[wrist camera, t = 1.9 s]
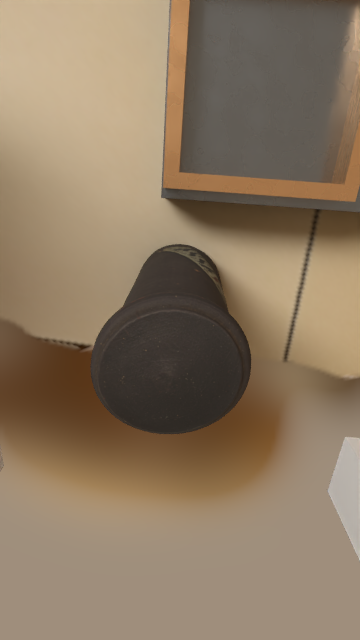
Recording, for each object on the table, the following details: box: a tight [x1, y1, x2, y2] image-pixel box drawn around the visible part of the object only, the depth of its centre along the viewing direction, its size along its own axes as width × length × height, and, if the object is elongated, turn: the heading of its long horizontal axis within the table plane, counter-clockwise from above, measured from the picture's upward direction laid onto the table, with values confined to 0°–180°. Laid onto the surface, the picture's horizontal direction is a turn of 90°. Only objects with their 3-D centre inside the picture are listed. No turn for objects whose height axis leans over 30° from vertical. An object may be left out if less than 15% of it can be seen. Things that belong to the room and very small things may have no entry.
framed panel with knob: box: [161, 0, 360, 212], centre depth 26 cm, size 24×17×6 cm
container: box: [91, 244, 251, 434], centre depth 26 cm, size 9×9×20 cm
